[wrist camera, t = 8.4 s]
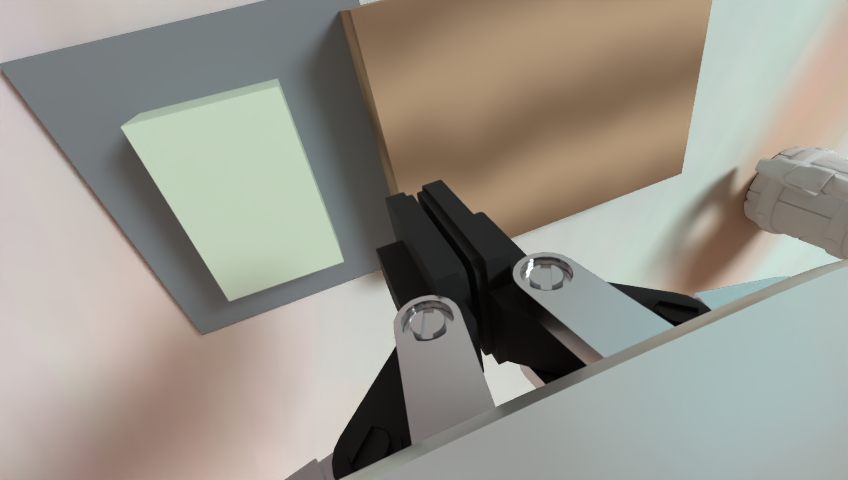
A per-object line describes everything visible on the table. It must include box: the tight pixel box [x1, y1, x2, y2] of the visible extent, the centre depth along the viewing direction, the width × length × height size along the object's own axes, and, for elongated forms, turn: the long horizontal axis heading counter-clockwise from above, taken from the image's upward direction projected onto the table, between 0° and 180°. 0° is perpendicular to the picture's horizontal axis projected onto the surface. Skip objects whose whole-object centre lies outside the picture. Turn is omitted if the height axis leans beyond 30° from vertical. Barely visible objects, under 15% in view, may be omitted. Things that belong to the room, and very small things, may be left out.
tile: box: [121, 78, 344, 301], centre depth 19 cm, size 9×6×2 cm, turn 12°
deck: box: [339, 0, 712, 238], centre depth 21 cm, size 13×18×4 cm
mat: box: [0, 0, 397, 335], centre depth 20 cm, size 15×14×1 cm
